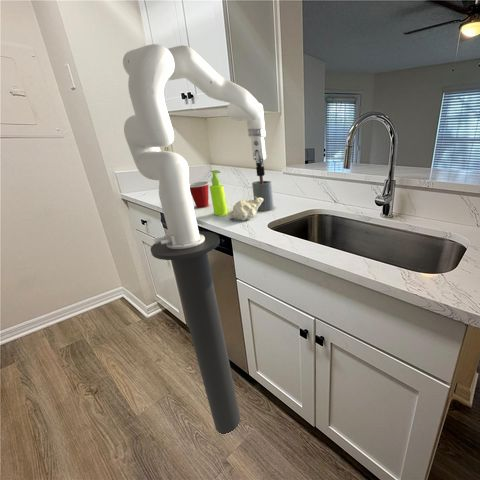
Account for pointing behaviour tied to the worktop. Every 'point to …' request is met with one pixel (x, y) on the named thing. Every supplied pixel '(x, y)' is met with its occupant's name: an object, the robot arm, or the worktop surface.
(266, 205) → the gray cup
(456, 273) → the worktop surface
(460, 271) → the worktop surface
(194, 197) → the plastic cup
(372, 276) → the worktop surface
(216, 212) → the soap dispenser
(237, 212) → the cream spiral shell
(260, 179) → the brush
